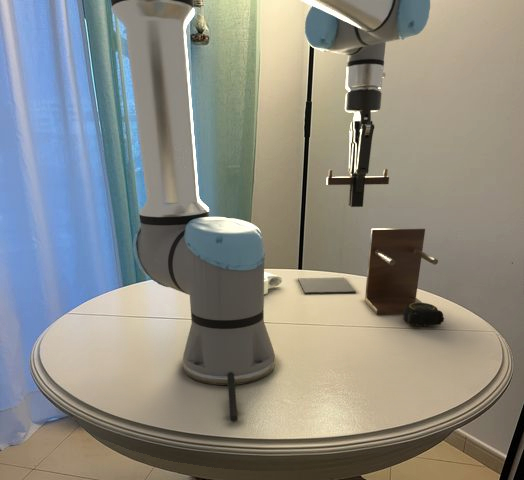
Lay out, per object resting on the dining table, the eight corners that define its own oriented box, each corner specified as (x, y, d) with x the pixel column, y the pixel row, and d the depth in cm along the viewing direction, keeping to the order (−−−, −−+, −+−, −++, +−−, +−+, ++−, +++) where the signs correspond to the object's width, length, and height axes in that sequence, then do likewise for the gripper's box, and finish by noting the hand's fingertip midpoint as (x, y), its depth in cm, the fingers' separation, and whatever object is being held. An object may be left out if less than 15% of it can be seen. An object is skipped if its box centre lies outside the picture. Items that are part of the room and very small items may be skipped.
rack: (433, 316, 98) (446, 237, 92) (379, 317, 98) (387, 238, 91) (413, 300, 110) (423, 228, 103) (364, 301, 109) (371, 228, 102)
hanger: (388, 184, 103) (390, 168, 102) (327, 185, 103) (328, 169, 102) (386, 183, 105) (388, 168, 104) (326, 184, 105) (327, 169, 103)
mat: (355, 292, 115) (355, 291, 115) (304, 293, 115) (305, 292, 115) (343, 278, 128) (343, 277, 128) (298, 279, 128) (298, 278, 127)
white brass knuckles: (289, 288, 119) (244, 299, 111) (249, 275, 132) (206, 283, 124) (290, 276, 118) (244, 285, 109) (248, 264, 131) (205, 271, 122)
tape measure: (409, 330, 91) (411, 312, 90) (398, 318, 97) (400, 301, 96) (442, 329, 91) (445, 311, 90) (429, 317, 98) (431, 301, 96)
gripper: (391, 86, 90) (379, 209, 99) (372, 94, 103) (364, 202, 113) (353, 86, 90) (345, 210, 99) (339, 94, 103) (334, 203, 113)
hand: (355, 205), depth 106 cm, fingers closed on hanger, 2 cm apart
